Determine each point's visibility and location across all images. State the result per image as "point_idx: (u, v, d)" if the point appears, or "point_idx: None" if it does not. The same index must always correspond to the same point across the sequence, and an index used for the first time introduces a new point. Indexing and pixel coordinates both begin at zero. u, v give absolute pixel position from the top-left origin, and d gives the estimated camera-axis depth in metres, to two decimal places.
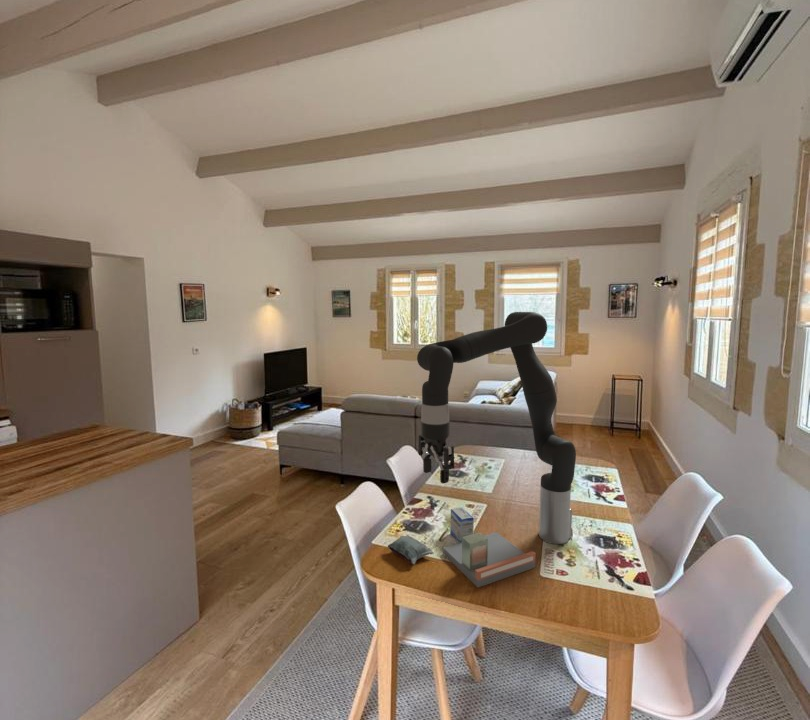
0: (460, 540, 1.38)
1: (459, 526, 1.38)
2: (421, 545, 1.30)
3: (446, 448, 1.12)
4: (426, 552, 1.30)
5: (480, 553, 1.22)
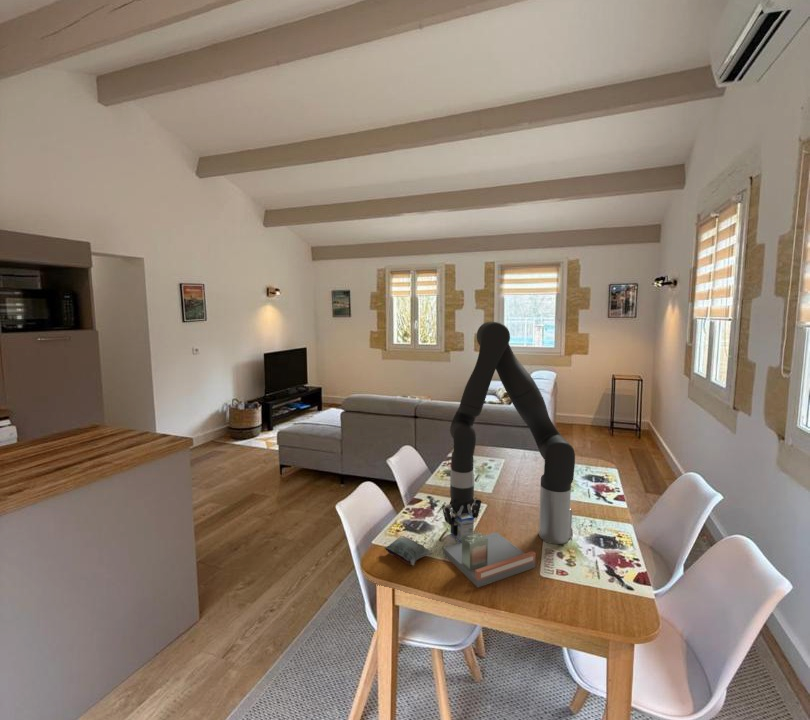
0: (460, 540, 1.38)
1: (459, 526, 1.38)
2: (419, 546, 1.30)
3: None
4: (424, 553, 1.30)
5: (480, 553, 1.22)
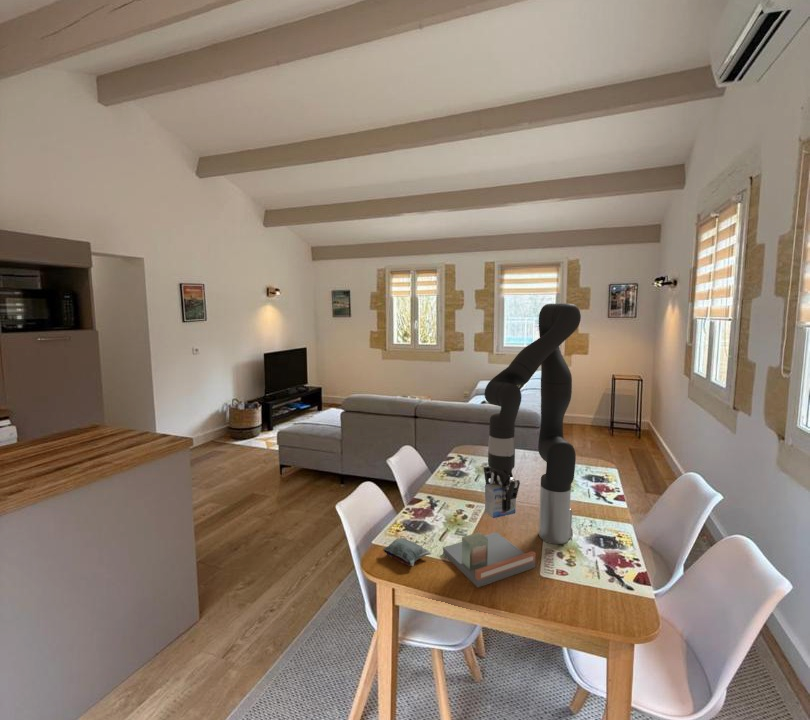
0: (514, 509, 1.27)
1: None
2: (417, 547, 1.30)
3: None
4: (423, 553, 1.29)
5: (480, 553, 1.22)
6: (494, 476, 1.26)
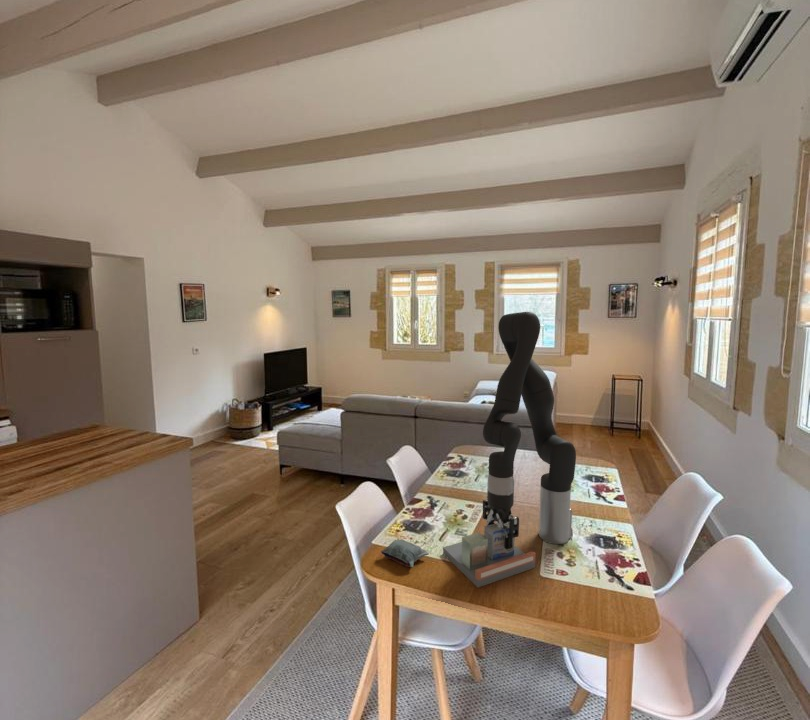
0: (512, 550, 1.29)
1: None
2: (416, 548, 1.29)
3: None
4: (422, 554, 1.29)
5: (480, 553, 1.22)
6: (493, 513, 1.28)
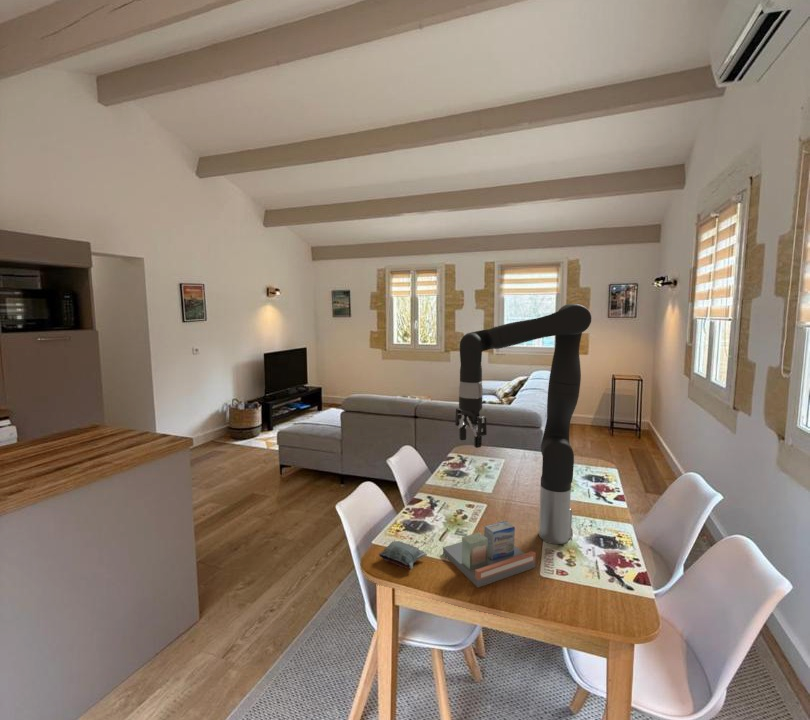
0: (512, 550, 1.29)
1: (511, 537, 1.28)
2: (414, 549, 1.29)
3: None
4: (420, 555, 1.29)
5: (480, 553, 1.22)
6: (464, 418, 1.42)
